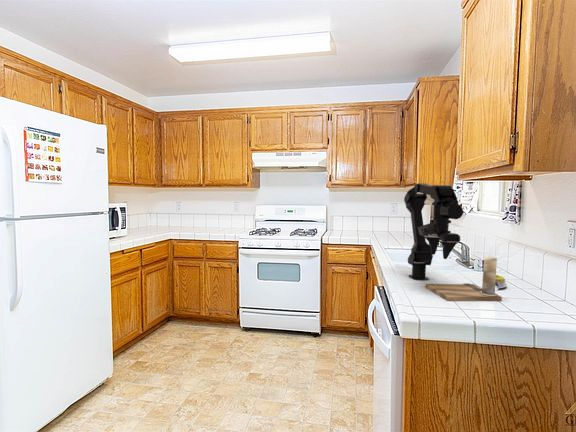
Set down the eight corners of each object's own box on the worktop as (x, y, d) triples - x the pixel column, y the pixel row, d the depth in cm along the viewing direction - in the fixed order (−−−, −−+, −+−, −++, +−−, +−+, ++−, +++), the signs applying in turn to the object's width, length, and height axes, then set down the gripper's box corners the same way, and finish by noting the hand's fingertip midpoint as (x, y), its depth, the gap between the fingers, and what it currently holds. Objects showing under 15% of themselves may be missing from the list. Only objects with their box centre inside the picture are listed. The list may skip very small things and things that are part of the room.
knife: (512, 293, 133) (501, 278, 156) (513, 286, 132) (502, 273, 155) (489, 290, 136) (482, 276, 159) (490, 284, 136) (482, 271, 158)
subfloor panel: (425, 287, 137) (425, 282, 137) (473, 287, 138) (473, 283, 138) (447, 300, 120) (447, 295, 120) (501, 300, 122) (501, 295, 121)
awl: (480, 293, 124) (482, 258, 123) (483, 291, 127) (486, 256, 126) (492, 295, 121) (495, 259, 121) (496, 293, 124) (498, 258, 123)
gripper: (411, 215, 142) (409, 252, 143) (432, 218, 124) (430, 261, 125) (436, 215, 143) (434, 252, 144) (462, 219, 124) (459, 261, 125)
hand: (438, 256), depth 135 cm, fingers open, 9 cm apart
